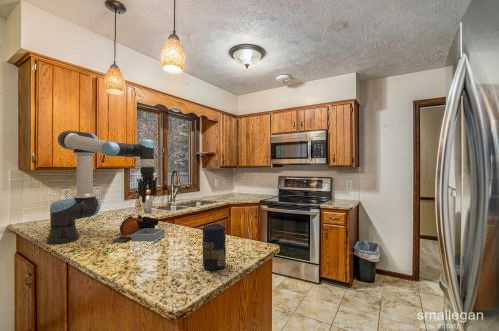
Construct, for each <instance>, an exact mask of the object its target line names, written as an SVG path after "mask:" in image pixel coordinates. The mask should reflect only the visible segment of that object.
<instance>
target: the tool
mask: <svg viewBox="0 0 499 331" xmlns="http://www.w3.org/2000/svg"><path fill="white" fill-rule="evenodd" d="M158 225H159V219H158V218H152V217H151V216H150V217H149V216H145V215H144V216H142V215H140V214H138V216H137V217H133V216H129V217H127V218H125V219H123V221H121V224H120V226H119V233H120V234H121V235H122V237H127V236H129V235H131V234H133V233H135V232H138V231H140V230H142V229H156V226H158Z"/></svg>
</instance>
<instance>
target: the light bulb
mask: <svg viewBox="0 0 499 331" xmlns="http://www.w3.org/2000/svg"><path fill="white" fill-rule="evenodd" d="M150 193H151V190H149V189H147V191H146V197H147V208H143V213H144V214H151V213H152V212H153V211H152V207H151V197H150Z"/></svg>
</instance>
